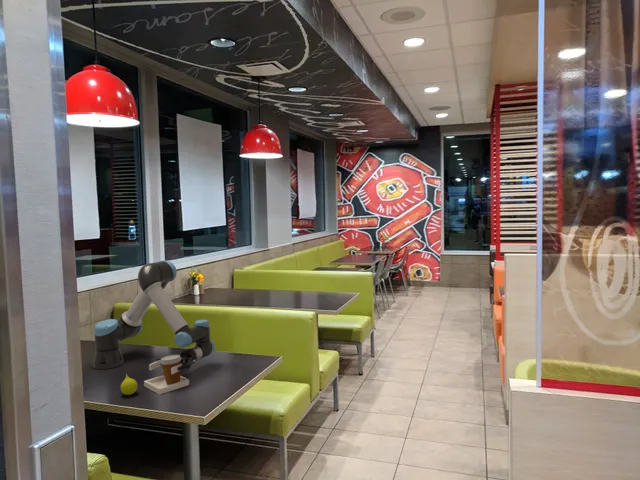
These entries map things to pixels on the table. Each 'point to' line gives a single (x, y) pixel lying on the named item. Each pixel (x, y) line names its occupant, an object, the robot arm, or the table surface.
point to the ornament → (128, 386)
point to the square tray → (164, 384)
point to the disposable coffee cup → (167, 364)
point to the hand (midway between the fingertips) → (160, 369)
